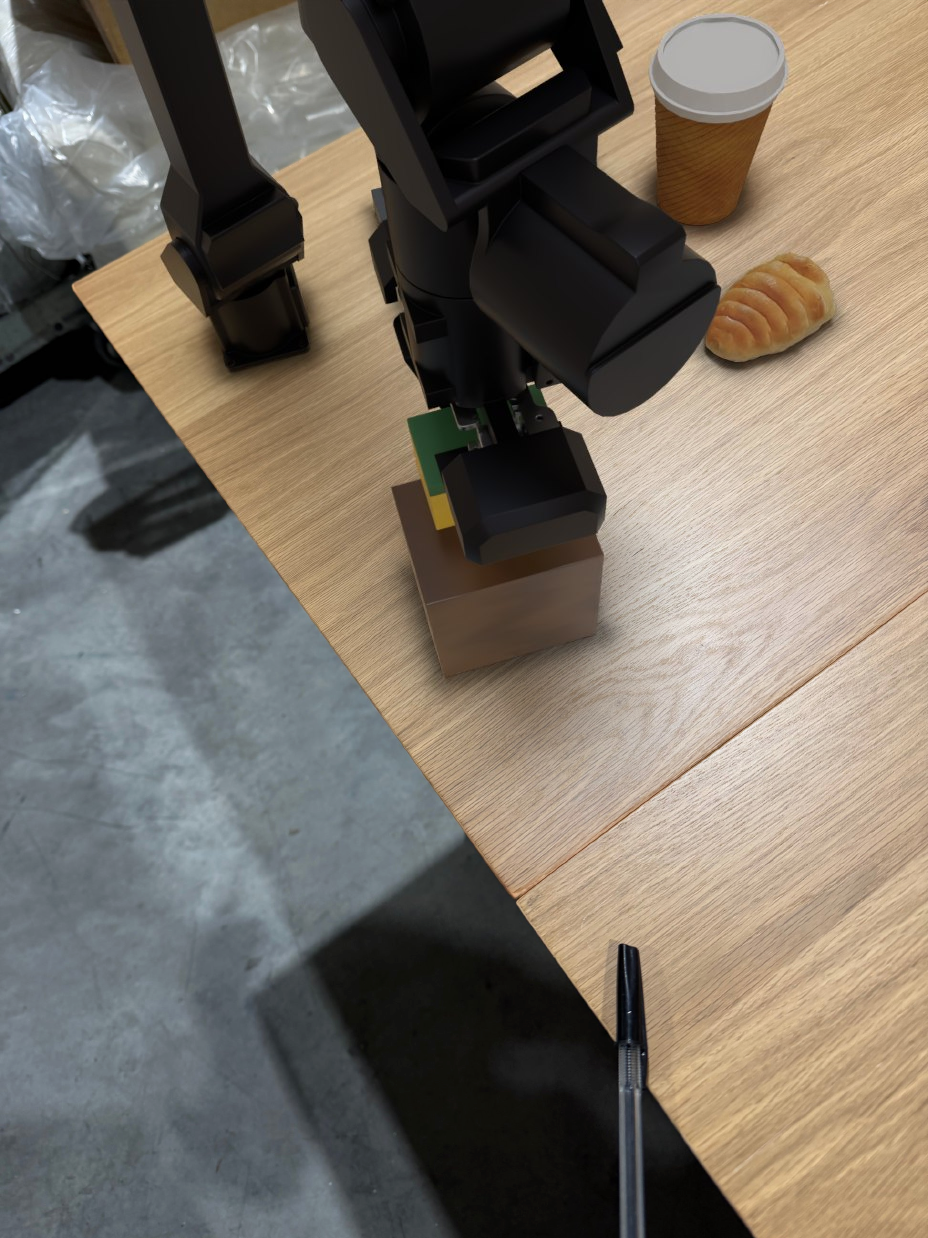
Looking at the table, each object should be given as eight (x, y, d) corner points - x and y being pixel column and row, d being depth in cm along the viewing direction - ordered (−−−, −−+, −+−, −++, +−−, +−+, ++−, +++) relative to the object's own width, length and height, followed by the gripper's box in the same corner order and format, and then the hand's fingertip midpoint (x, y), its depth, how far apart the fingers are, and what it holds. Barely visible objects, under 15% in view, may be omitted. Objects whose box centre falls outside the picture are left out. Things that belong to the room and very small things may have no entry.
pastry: (747, 388, 68) (757, 351, 65) (679, 335, 71) (685, 296, 67) (839, 319, 70) (853, 279, 67) (770, 270, 73) (780, 229, 69)
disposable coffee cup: (778, 178, 77) (815, 30, 66) (725, 256, 74) (755, 113, 63) (670, 142, 80) (689, -6, 69) (615, 216, 76) (625, 72, 66)
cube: (444, 678, 60) (425, 606, 51) (413, 571, 64) (390, 486, 55) (596, 634, 61) (604, 555, 52) (557, 530, 64) (558, 440, 55)
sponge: (436, 530, 51) (428, 488, 47) (416, 463, 53) (406, 417, 49) (564, 495, 51) (565, 451, 47) (538, 429, 53) (538, 382, 49)
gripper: (759, 370, 34) (696, 581, 48) (588, 49, 42) (578, 309, 56) (451, 453, 33) (479, 642, 47) (340, 112, 41) (392, 359, 55)
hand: (488, 473), depth 51 cm, fingers closed on sponge, 4 cm apart
